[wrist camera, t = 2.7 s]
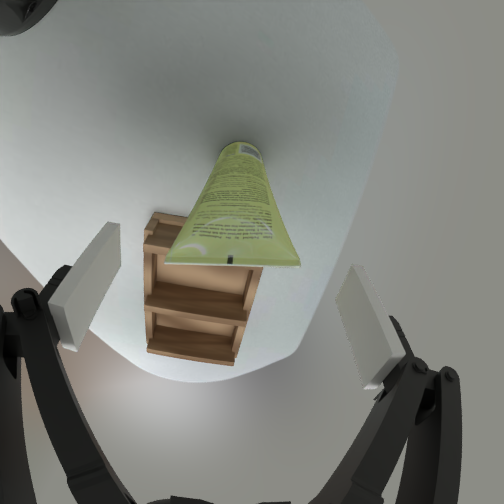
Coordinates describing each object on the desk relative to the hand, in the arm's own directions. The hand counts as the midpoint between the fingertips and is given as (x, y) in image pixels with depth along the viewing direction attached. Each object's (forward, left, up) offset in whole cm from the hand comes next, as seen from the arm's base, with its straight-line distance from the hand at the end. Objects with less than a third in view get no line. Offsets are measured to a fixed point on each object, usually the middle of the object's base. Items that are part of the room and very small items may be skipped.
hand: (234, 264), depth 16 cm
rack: (+18, -2, -19) cm, 26 cm away
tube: (0, 0, -19) cm, 19 cm away
